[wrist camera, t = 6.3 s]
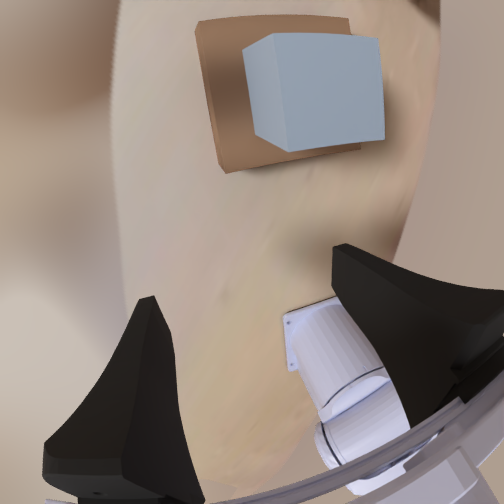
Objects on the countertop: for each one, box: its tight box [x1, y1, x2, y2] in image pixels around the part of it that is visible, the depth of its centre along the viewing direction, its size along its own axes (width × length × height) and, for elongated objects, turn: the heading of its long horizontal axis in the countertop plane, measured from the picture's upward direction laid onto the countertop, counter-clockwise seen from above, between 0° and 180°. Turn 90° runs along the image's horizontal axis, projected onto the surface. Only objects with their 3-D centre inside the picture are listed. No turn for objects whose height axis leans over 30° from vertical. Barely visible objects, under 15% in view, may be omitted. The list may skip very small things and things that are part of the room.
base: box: [195, 15, 360, 174], centre depth 16 cm, size 9×9×3 cm
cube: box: [242, 33, 385, 152], centre depth 12 cm, size 5×5×5 cm
